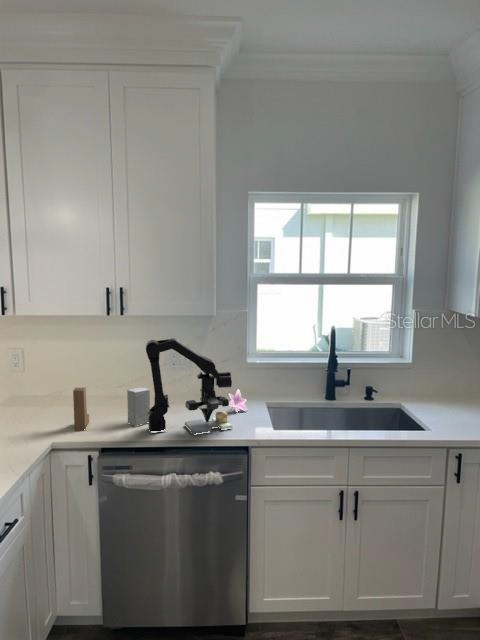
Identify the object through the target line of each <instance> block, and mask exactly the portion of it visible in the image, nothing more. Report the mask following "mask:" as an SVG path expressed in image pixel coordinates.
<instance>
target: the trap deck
mask: <svg viewBox="0 0 480 640" xmlns="http://www.w3.org/2000/svg"><path fill="white" fill-rule="evenodd" d="M185 425H186V426H187V427H188V428H189V429H190V430H191V432H192V433H193V434H196V433H202V432H208V431H211V432H212V430H211V428H212V427H218V426H219V427H220V428H221V429H225V428H232V429H233V424H232V423H230V422H229V420H227V422H226V423H218V422H217V421H216V416H215V417H211V420H209V422H206V421H205V420H203V419H195V420H188V421H186V420H185V421H184V426H185ZM191 432H190V433H191ZM192 433H191V434H192ZM193 434H192V435H193Z"/></svg>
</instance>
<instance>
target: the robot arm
mask: <svg viewBox="0 0 480 640" xmlns="http://www.w3.org/2000/svg"><path fill="white" fill-rule="evenodd" d="M169 350H173V351H175V352H176V353H178V354H180V355H181V356H183V357H184V358H186V359H187V360H189V361H190V362H192V363H194V364H195V365H196V366H197V367H198V369H199V370H201V371H200V372H199V373H198V375H197V376H196V378H197V379H199V380H201V382H200V384H201V386H200V398H199V400H200V401H197V400H196V399H190V400H187V401H185V406H184V407H185V408H186V409H187V410H189V411H197V410H198V409H200V411H201V413H202V415H203V418H204V422H209V421H210V419H211V416H212V414H213V412H214V411H215V410H218V409H219V406H222V407H230V406H229V402H230V400H229V399H228V398H226V397H225V396H222V395H221V396H217V395H216V390H215V386H216V387H218V389H220V388H221V389H222V388H223V389H224V388H225V389H226V388H230V389H231V388H232V387H233V386H232V385H233V380H232V373H231V371H227V372H226V371H225V372H219V371H218V369H216V368H217V367H216V365H215V363H214V361H213V360H212V359H211V358H208V357H206V356H204V355H201V354H199V353H197V352H195V351H194V350H191V348H190V347H187V346H186V345H184V344H182V343H181V342H179V341H178V340H177V339H176V338H168V339H160V340H156V339H150V340H148V341H147V343H146V344H145V352H146V355H147V358H148V361H149V363H150V368H151V370H150V371H151V375H152V381H153V382H152V383H153V390H154V391H153V392H154V403H153V406H152V407H150V413H149V417H148V420H149V423H148V428H149V430H150V431H161V430H164V429H165V430H166V427H167V425H166V419H165V416H164V415H166V414H167V413H168V412H169V409H170V403H169V394H165V392H164V387H163V380H162V373H161V366H160V356H161V355H160V353H162V352H166V351H169ZM149 430H148V431H149Z"/></svg>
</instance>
